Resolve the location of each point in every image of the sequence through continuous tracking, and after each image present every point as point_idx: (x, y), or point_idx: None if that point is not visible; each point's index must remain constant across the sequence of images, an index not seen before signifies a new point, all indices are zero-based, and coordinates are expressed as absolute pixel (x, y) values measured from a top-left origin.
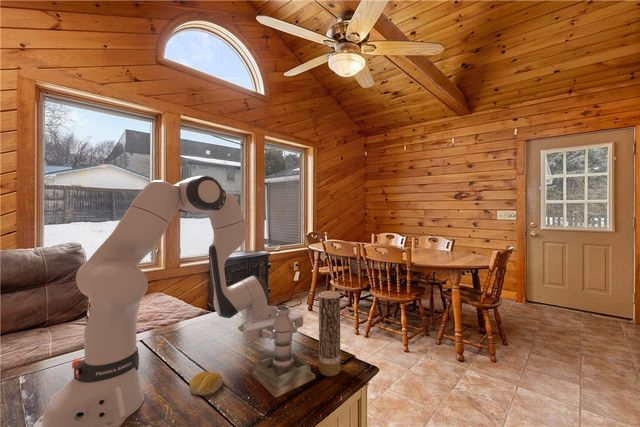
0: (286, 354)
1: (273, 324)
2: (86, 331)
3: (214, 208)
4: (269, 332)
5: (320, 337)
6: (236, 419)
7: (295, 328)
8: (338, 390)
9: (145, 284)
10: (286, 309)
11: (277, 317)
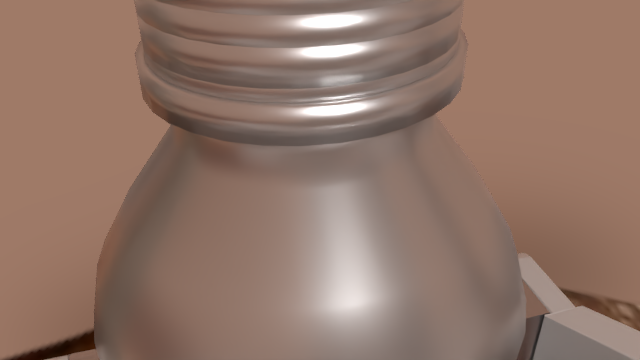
0: None
1: (509, 232)
2: None
3: None
4: (558, 296)
5: None
6: (618, 309)
7: (83, 353)
8: (48, 354)
9: None
10: (165, 13)
11: (437, 117)
